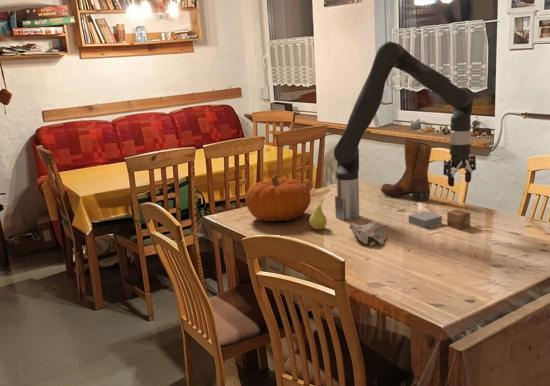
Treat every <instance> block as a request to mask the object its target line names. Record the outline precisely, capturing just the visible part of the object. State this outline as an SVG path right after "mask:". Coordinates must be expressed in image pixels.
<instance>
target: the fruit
mask: <svg viewBox="0 0 550 386" xmlns="http://www.w3.org/2000/svg"><path fill="white" fill-rule="evenodd" d="M324 199H325V198H322V200H321V202H320V203H319V204H317V205H316V207H315V209H314V211H313V212H312V214H311V215H310V216H309V219H308V220H309V221H308V222H309V225H310V226H311V227H312V229H314V230H319V231H320V230H322V229H324V228H325V227H326V225H327V222H328V221H327V217H326V215H325V214H324V213H323V211H322V203H323V202H324Z"/></svg>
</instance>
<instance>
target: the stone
mask: <svg viewBox="0 0 550 386" xmlns="http://www.w3.org/2000/svg"><path fill="white" fill-rule="evenodd" d="M348 229H350V230H351V231H352V232H351V233H352V234H353V235H354V236H355V237H356V239H358V241H360V242H361V243H363V244H365V245H367V244H368V242H369V238H372V239H374V241H372V242H370V244H369V247H372V246H374V245H375V243H376V242H375V241H377V242H378V245H379V244H380V245H384V241H385V240H386V239H387V237H386V231H385V229H384V228H382V227H381V226H380V225H379V224H378V223H377V222H374V221H371V222H369V223H367V224H362V225H361V224H356V223H354V222H352V223H350V224H349V227H348Z"/></svg>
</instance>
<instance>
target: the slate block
mask: <svg viewBox="0 0 550 386" xmlns="http://www.w3.org/2000/svg"><path fill="white" fill-rule="evenodd" d="M442 222H443V216H442V215H439V214H435V213H432V212H430V211H426V210H424V211H421V212H417V213H414V214H409V215H408V223H409V224H412V225H413V226H417V227H419V228H422V229H427V228H431V227H435V226H438V225H439V226H440V225H441V224H443V223H442Z"/></svg>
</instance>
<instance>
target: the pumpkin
mask: <svg viewBox="0 0 550 386" xmlns="http://www.w3.org/2000/svg"><path fill="white" fill-rule="evenodd" d="M311 197H312V196H311V192H310V189H309V188H308V186H307V185H306V184H304V183H303V182H302V181H300V180H298V179H290V178H286V177H278V176H277V174H276V173H274V175H273V176H272V177H271V178H270V179H269V178H268V179H266V180H264V181H259V182H257V183H255V184H253V185H251V186H250V187H249V188H248V189H247V191H246V193H245V197H244V198H245V201H244V202H245V205H246V208H247V209H248V211H249V213H250V214H251V215H252V216H253V218H255V219H257V220H260V221H263V222H276V221H291V220H295V219H297V218H299V217H300V216H302V215H303V214H304V213H305V212H306V211H307V209H308V208H309V207H310V205H311V200H312V199H311Z"/></svg>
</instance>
